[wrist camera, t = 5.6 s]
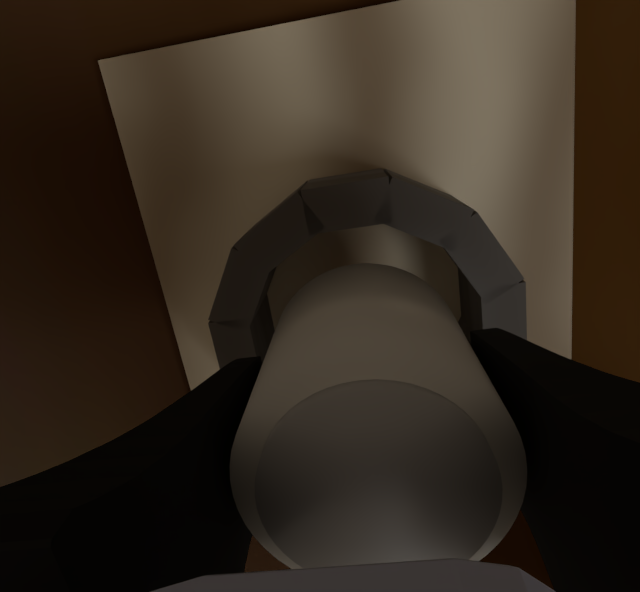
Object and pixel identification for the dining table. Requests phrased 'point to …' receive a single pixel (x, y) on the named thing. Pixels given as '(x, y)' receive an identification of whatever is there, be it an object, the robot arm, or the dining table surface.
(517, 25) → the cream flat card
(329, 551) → the white round cylinder
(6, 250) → the dining table surface
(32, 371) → the dining table surface
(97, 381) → the dining table surface
